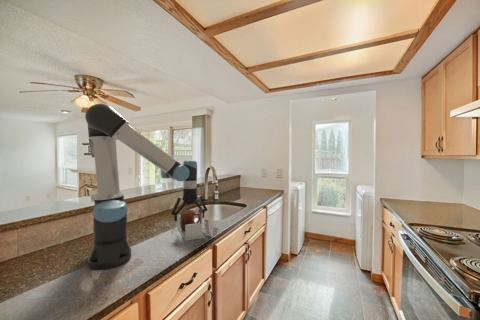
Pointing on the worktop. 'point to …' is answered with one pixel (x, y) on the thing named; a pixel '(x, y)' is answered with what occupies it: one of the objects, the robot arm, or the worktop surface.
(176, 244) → the worktop surface
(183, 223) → the mug
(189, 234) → the vise
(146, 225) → the worktop surface
